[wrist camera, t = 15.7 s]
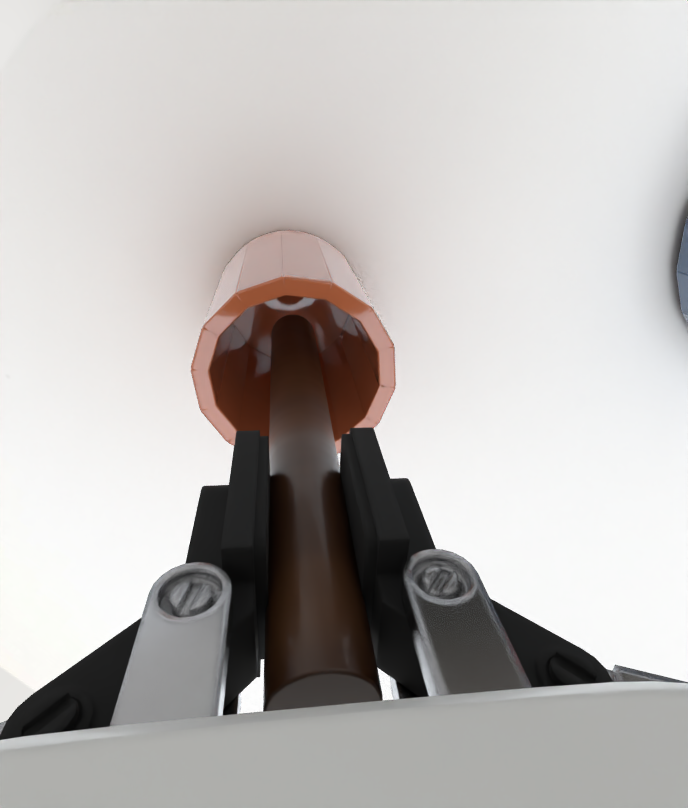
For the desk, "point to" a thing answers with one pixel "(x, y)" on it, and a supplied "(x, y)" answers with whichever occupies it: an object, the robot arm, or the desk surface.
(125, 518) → the desk surface
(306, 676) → the stick
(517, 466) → the desk surface
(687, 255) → the bowl
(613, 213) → the desk surface
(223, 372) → the crock
